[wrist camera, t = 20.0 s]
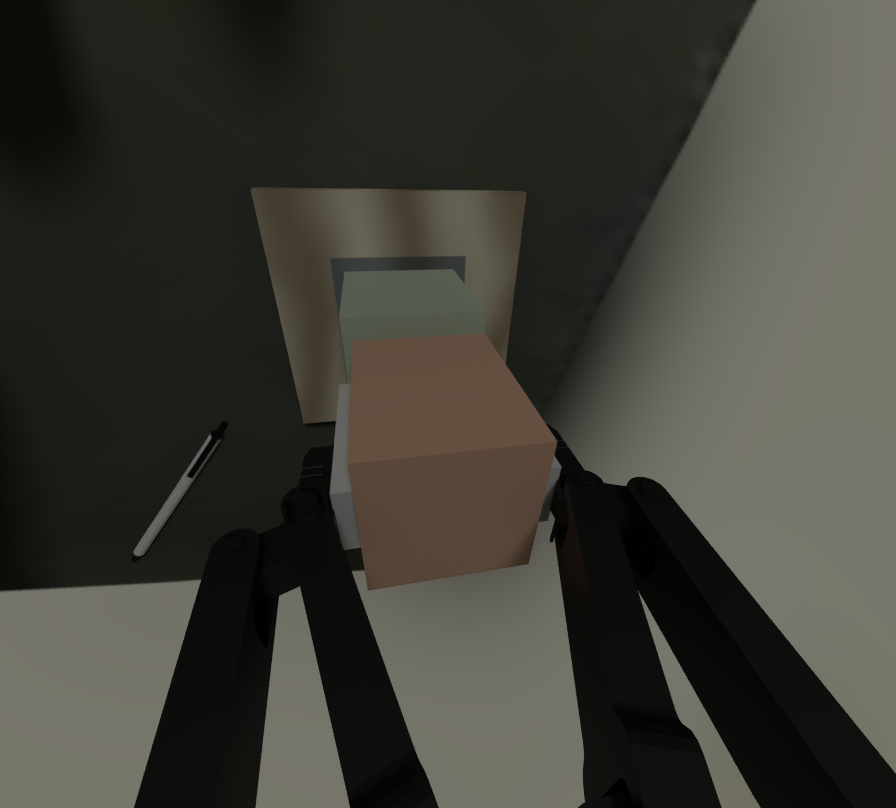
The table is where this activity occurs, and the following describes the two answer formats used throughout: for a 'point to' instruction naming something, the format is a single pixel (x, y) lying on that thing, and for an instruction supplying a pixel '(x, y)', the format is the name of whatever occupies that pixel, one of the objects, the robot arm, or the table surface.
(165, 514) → the pen
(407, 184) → the table surface
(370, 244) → the beige flat square slab
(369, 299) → the sage block
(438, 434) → the terracotta block
